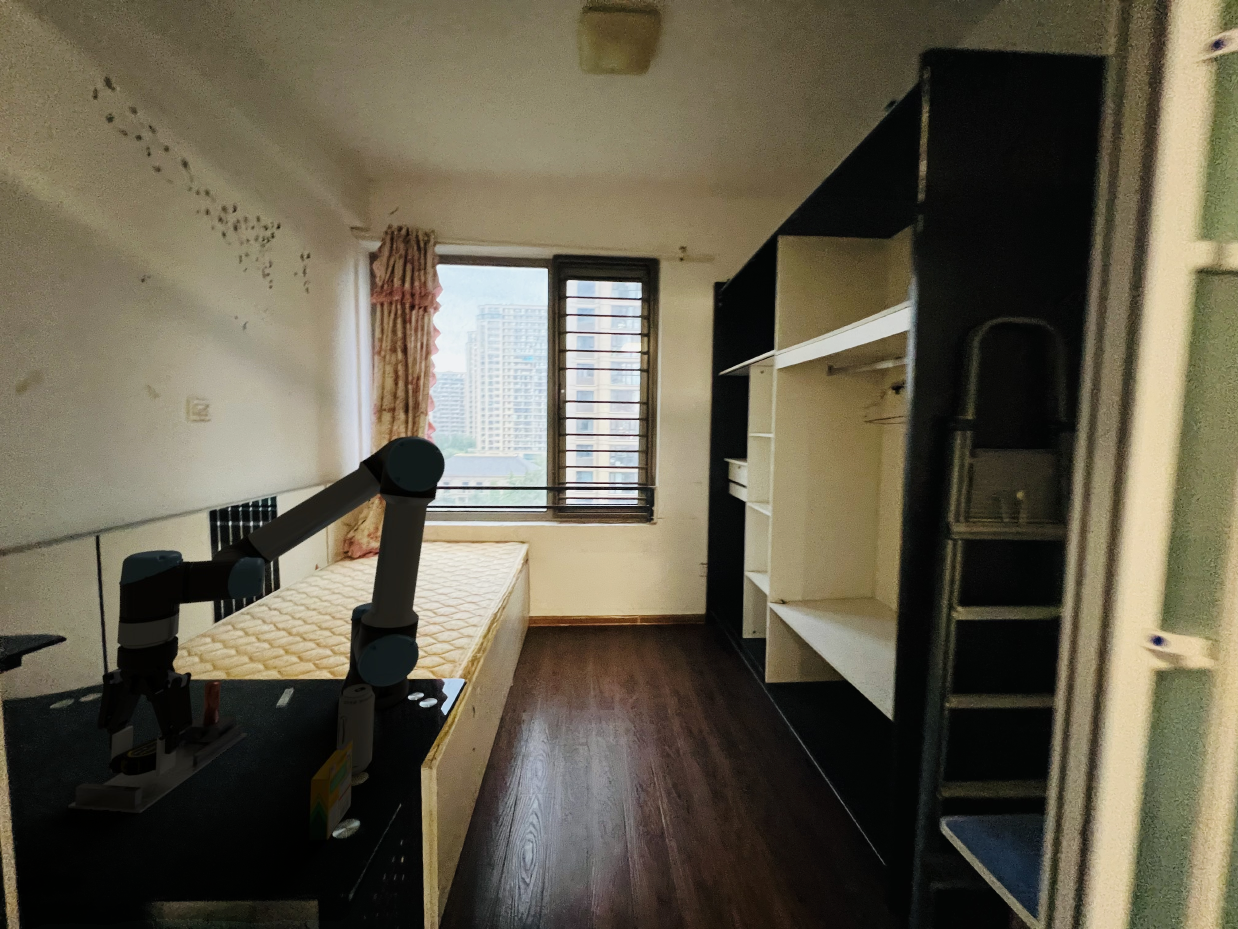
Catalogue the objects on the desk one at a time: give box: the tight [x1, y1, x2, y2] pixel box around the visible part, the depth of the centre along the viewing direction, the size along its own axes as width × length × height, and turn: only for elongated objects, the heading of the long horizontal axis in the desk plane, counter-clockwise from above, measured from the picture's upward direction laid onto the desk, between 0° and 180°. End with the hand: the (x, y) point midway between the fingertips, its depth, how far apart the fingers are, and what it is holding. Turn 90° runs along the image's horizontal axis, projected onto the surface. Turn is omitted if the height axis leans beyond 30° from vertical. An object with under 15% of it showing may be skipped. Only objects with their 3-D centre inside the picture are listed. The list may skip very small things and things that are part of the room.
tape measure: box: [108, 738, 157, 776], centre depth 81 cm, size 7×7×4 cm
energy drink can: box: [336, 684, 375, 776], centre depth 88 cm, size 6×6×15 cm
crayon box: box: [308, 740, 353, 841], centre depth 75 cm, size 7×3×12 cm, turn 4°
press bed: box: [68, 724, 248, 814], centre depth 85 cm, size 12×21×3 cm, turn 179°
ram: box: [184, 679, 237, 743], centre depth 93 cm, size 7×5×11 cm
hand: (143, 768), depth 81 cm, fingers closed on tape measure, 7 cm apart
